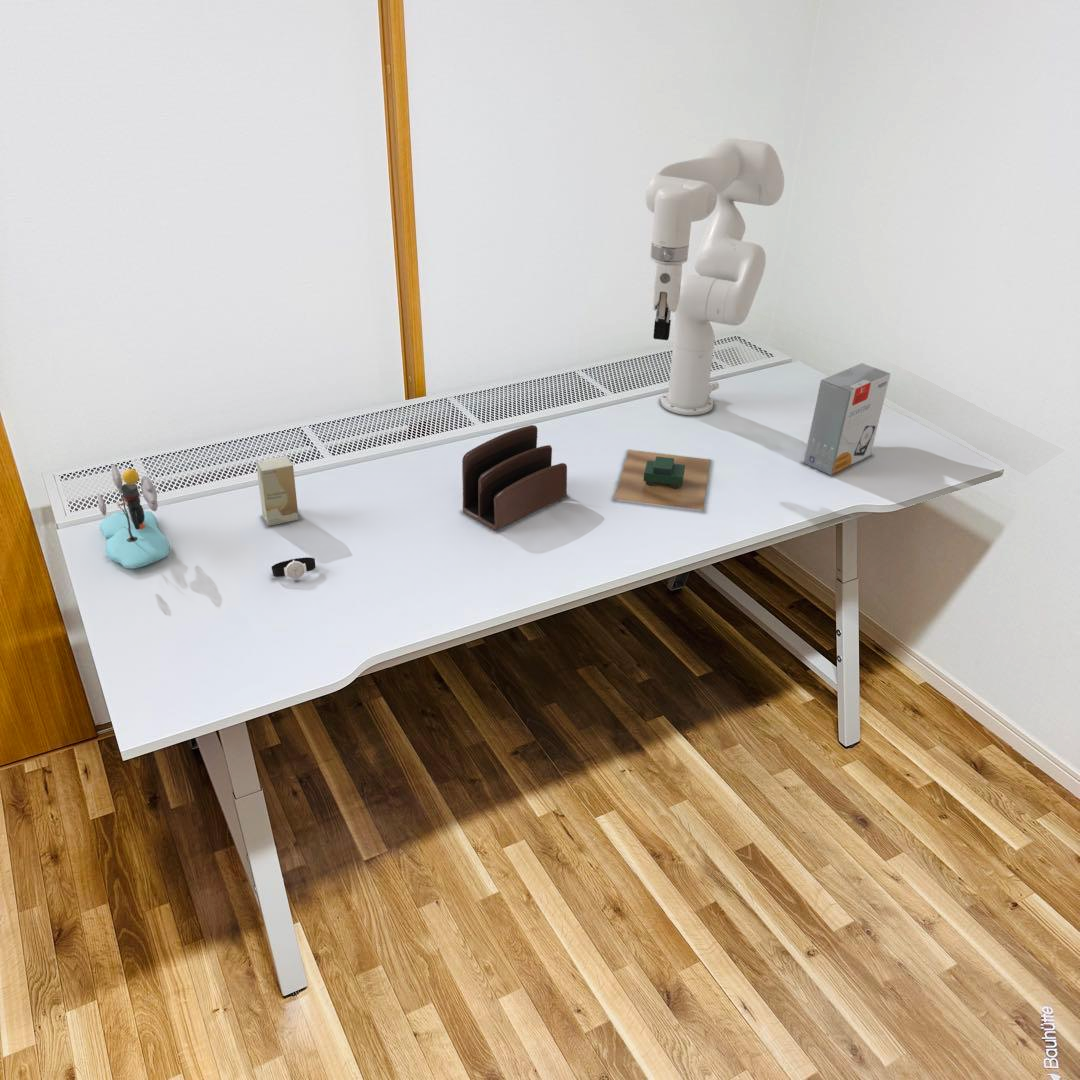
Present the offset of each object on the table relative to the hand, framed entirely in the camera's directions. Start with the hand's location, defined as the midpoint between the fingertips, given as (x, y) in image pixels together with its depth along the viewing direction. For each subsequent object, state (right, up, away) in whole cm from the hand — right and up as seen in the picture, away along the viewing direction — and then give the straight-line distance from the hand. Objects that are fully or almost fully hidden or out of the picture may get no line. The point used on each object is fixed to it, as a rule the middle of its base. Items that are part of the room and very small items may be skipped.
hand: (661, 338), depth 209 cm
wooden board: (+1, -30, 0) cm, 30 cm away
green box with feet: (+1, -27, 0) cm, 27 cm away
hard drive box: (+40, -25, +10) cm, 48 cm away
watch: (-70, -49, -32) cm, 91 cm away
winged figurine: (-101, -44, -25) cm, 113 cm away
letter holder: (-31, -36, -10) cm, 48 cm away
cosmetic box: (-76, -39, -16) cm, 87 cm away
